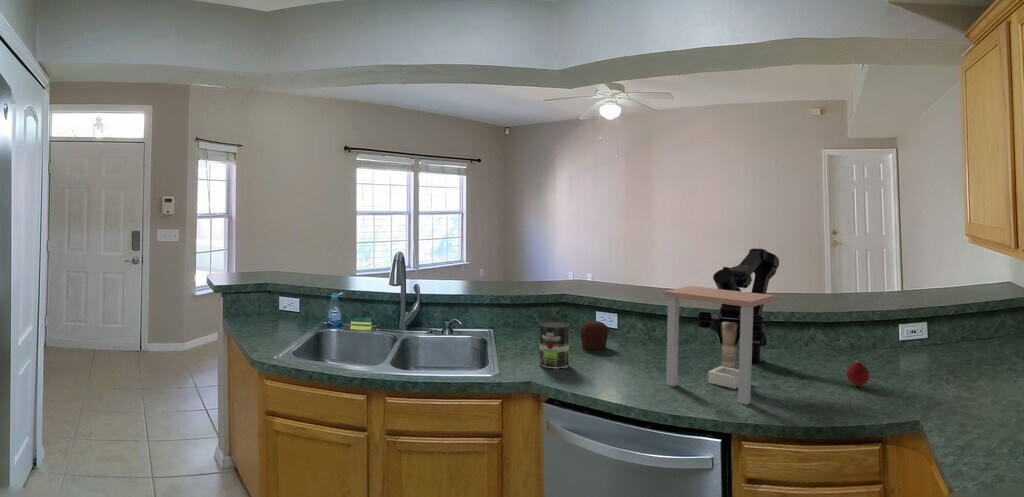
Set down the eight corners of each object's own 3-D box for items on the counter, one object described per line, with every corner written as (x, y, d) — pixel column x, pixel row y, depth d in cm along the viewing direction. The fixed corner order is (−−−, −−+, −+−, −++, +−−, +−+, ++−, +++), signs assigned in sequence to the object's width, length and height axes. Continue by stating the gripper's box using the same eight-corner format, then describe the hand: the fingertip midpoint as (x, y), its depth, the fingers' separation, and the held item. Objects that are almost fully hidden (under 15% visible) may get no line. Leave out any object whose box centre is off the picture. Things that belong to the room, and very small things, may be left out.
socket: (720, 376, 180) (720, 366, 179) (746, 382, 174) (747, 371, 173) (708, 382, 174) (708, 371, 173) (735, 388, 168) (735, 377, 167)
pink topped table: (688, 373, 183) (690, 286, 181) (771, 392, 164) (774, 295, 162) (662, 384, 172) (664, 291, 169) (748, 406, 153) (751, 301, 151)
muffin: (577, 350, 212) (578, 324, 212) (579, 343, 223) (579, 318, 222) (610, 352, 210) (610, 325, 210) (609, 344, 221) (610, 319, 220)
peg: (724, 362, 176) (725, 321, 175) (737, 364, 173) (738, 322, 172) (718, 364, 173) (720, 322, 172) (731, 367, 170) (733, 324, 169)
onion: (865, 384, 172) (867, 358, 171) (870, 390, 166) (872, 363, 166) (843, 382, 174) (845, 357, 173) (848, 388, 168) (849, 361, 168)
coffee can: (564, 370, 186) (564, 328, 185) (534, 367, 190) (535, 325, 189) (573, 362, 196) (573, 322, 195) (544, 359, 200) (545, 320, 198)
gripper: (699, 285, 179) (694, 327, 170) (763, 289, 171) (763, 332, 162) (700, 306, 187) (696, 347, 177) (762, 310, 179) (762, 353, 170)
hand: (728, 344), depth 172 cm, fingers closed on peg, 4 cm apart
